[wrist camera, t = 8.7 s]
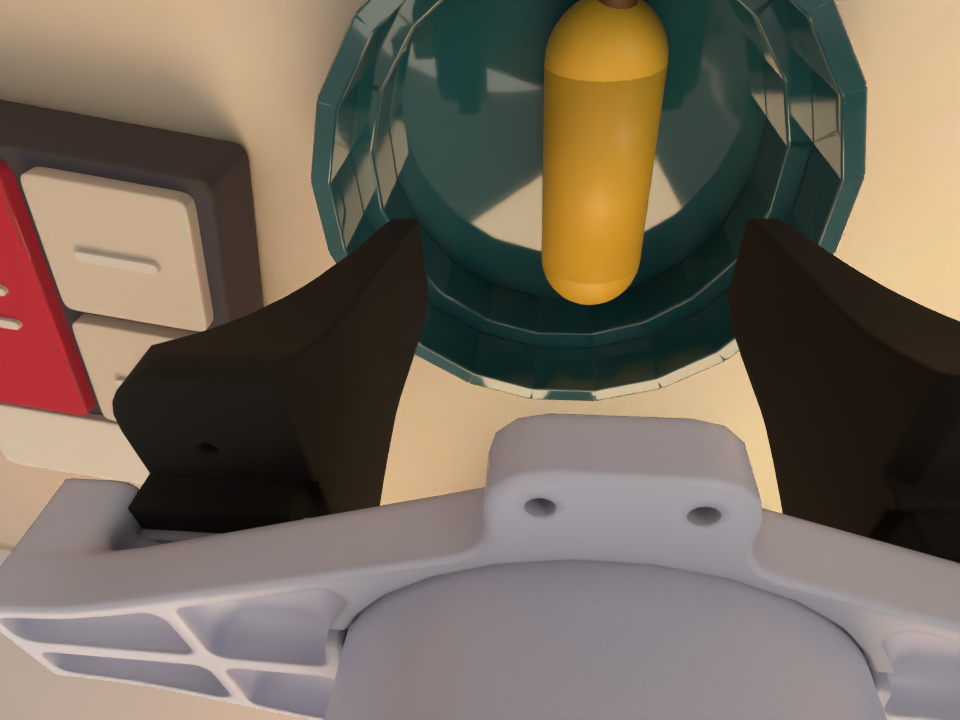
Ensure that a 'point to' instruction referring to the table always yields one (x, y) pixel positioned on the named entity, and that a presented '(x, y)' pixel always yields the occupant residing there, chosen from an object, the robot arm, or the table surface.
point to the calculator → (108, 272)
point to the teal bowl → (519, 178)
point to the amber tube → (599, 144)
